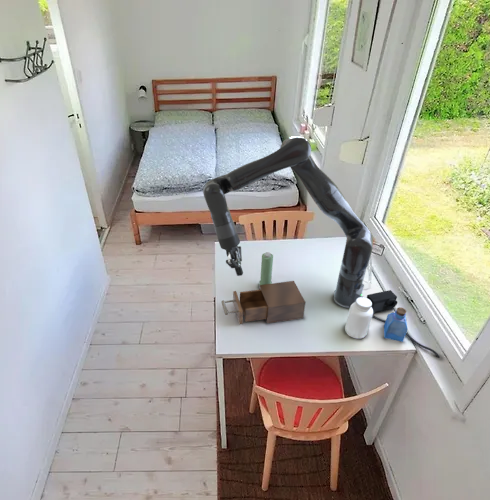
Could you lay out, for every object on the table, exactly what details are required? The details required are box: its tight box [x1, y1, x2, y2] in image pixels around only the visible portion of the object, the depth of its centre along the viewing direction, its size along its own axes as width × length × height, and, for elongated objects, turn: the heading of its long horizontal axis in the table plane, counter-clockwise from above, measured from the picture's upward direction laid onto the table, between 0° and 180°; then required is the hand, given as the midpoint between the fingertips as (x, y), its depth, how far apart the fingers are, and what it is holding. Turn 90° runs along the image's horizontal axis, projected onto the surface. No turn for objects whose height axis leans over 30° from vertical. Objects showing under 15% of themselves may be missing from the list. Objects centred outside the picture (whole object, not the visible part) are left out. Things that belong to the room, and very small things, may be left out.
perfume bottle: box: [383, 307, 408, 343], centre depth 138 cm, size 6×6×12 cm
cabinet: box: [258, 280, 306, 324], centre depth 152 cm, size 15×13×9 cm
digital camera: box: [366, 289, 398, 315], centre depth 150 cm, size 10×5×7 cm, turn 104°
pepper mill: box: [258, 251, 274, 285], centre depth 160 cm, size 5×5×18 cm
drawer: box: [221, 288, 268, 325], centre depth 150 cm, size 19×12×7 cm, turn 99°
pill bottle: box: [344, 296, 374, 339], centre depth 139 cm, size 8×8×15 cm
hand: (240, 274), depth 145 cm, fingers closed
